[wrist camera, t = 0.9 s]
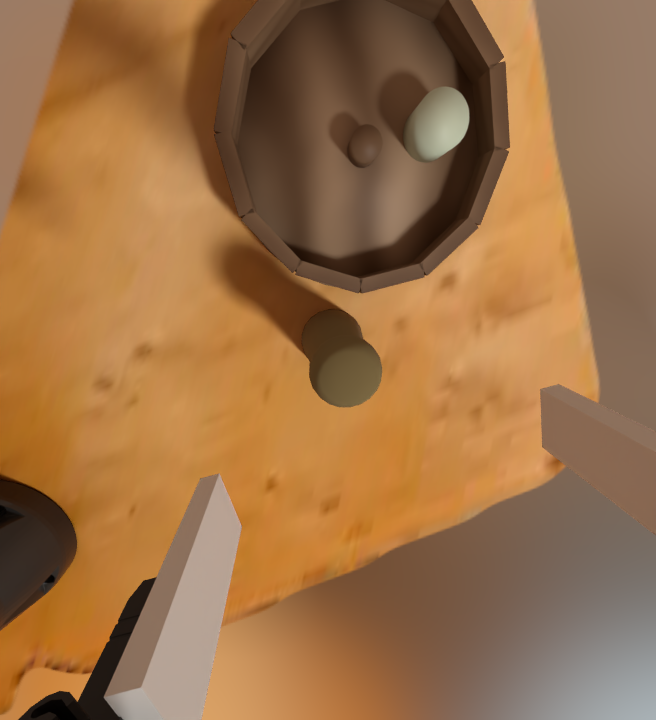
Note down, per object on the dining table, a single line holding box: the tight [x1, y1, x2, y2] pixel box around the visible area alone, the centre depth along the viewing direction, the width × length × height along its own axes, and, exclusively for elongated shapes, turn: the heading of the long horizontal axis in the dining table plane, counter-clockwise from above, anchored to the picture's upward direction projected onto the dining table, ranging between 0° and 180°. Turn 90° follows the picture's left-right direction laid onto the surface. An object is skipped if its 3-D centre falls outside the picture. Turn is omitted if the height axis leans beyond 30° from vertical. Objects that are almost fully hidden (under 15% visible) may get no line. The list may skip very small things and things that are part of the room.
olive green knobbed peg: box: [302, 310, 382, 407], centre depth 27 cm, size 6×6×11 cm
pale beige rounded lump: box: [403, 87, 469, 163], centre depth 25 cm, size 4×4×3 cm
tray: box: [214, 0, 510, 293], centre depth 26 cm, size 22×22×3 cm
